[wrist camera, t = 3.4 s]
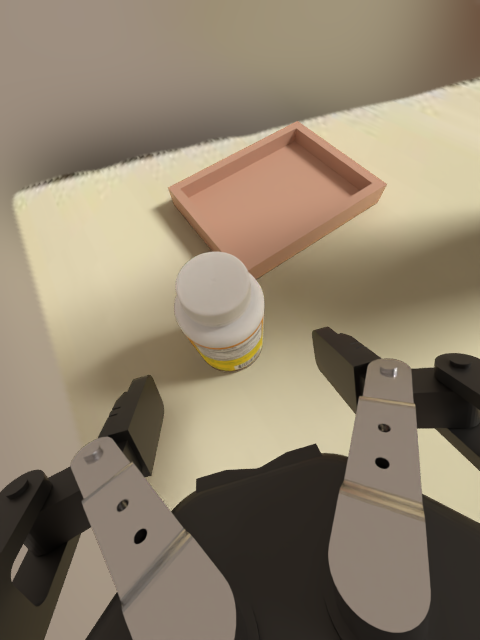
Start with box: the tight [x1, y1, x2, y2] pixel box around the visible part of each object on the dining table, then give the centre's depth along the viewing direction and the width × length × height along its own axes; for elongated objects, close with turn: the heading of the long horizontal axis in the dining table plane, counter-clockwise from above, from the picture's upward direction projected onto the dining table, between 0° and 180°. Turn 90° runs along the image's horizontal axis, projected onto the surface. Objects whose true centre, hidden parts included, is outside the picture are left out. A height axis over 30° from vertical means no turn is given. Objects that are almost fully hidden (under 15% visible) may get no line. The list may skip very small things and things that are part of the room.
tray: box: [168, 121, 387, 279], centre depth 28 cm, size 18×14×2 cm
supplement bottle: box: [174, 252, 265, 372], centre depth 18 cm, size 6×6×10 cm
